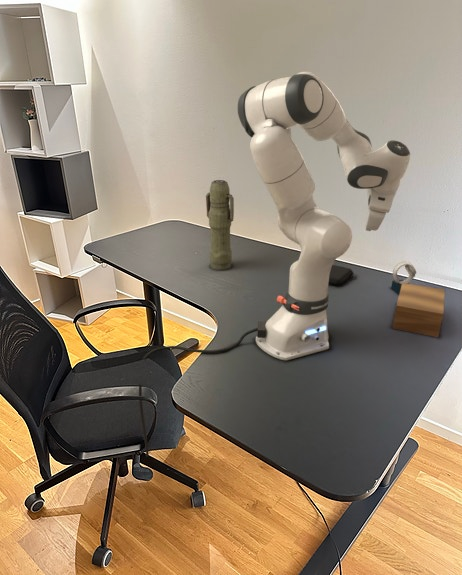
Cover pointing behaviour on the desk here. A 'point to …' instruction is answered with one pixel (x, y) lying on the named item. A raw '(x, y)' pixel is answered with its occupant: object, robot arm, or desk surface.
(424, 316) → the wooden display stand
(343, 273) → the carrying case
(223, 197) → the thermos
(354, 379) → the desk surface
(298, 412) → the desk surface
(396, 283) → the watch
